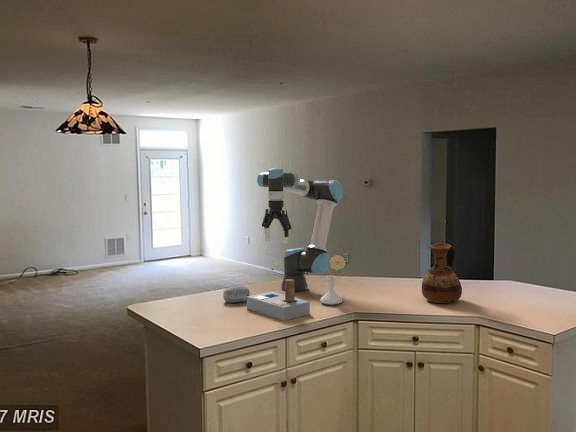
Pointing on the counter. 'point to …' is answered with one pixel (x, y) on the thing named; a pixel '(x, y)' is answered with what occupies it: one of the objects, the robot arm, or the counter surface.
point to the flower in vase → (331, 296)
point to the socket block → (277, 306)
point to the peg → (289, 291)
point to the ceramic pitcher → (442, 276)
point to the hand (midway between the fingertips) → (276, 242)
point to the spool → (236, 294)
